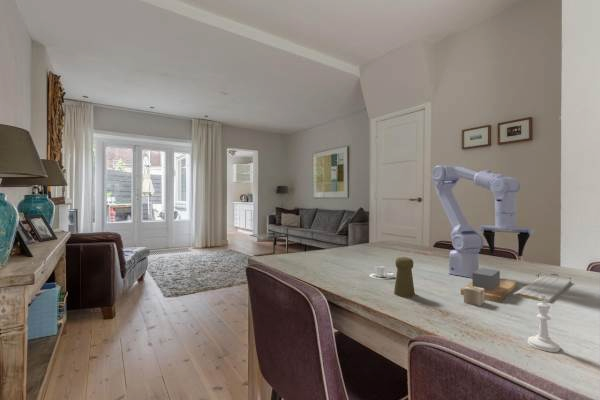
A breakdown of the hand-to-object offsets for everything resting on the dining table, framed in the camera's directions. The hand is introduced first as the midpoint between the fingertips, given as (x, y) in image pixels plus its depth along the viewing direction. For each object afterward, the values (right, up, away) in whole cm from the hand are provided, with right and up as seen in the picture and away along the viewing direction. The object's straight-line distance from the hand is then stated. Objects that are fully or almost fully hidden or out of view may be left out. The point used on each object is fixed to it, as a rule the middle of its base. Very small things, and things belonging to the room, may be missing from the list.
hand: (506, 254), depth 97 cm
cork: (-36, -11, -8) cm, 39 cm away
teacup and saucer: (-38, -11, +9) cm, 41 cm away
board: (-8, -10, -4) cm, 14 cm away
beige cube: (-18, -9, -14) cm, 24 cm away
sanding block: (-11, -9, -7) cm, 16 cm away
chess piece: (-20, -11, -39) cm, 46 cm away
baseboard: (+10, -11, -2) cm, 15 cm away
